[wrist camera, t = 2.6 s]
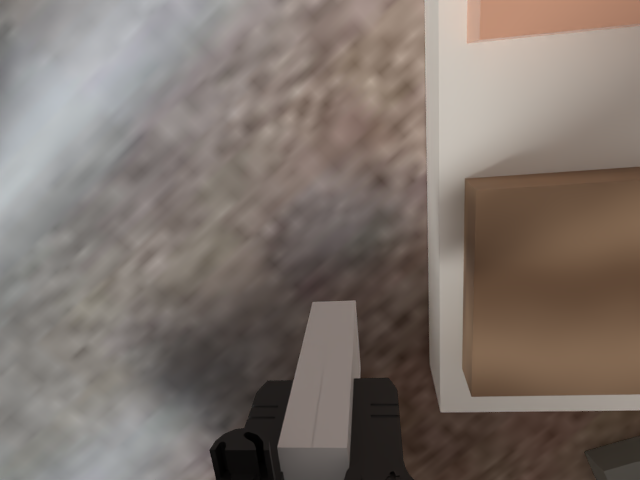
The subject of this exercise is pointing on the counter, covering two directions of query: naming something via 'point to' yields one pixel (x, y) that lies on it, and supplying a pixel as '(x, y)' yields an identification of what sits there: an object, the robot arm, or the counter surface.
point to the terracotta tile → (546, 17)
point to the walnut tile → (552, 284)
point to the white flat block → (514, 156)
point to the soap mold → (616, 460)
